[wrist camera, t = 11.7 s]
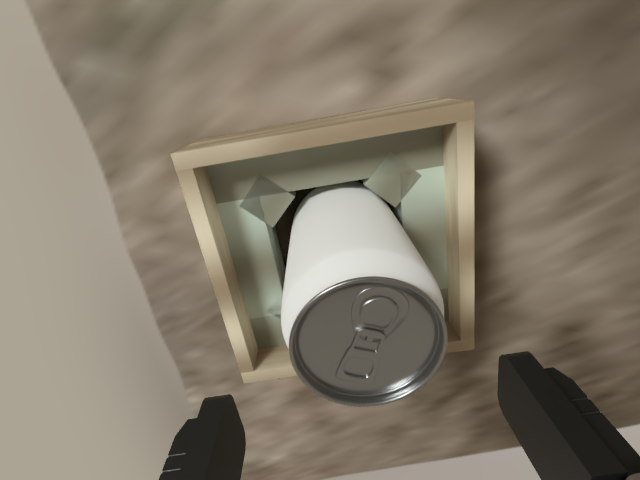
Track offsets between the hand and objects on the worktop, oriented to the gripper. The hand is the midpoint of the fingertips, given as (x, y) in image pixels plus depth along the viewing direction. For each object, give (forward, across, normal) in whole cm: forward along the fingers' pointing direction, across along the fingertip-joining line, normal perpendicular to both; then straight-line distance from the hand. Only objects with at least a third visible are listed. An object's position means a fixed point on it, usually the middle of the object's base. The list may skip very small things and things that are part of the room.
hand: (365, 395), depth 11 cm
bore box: (+14, 0, 0) cm, 14 cm away
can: (+14, 0, 0) cm, 14 cm away
